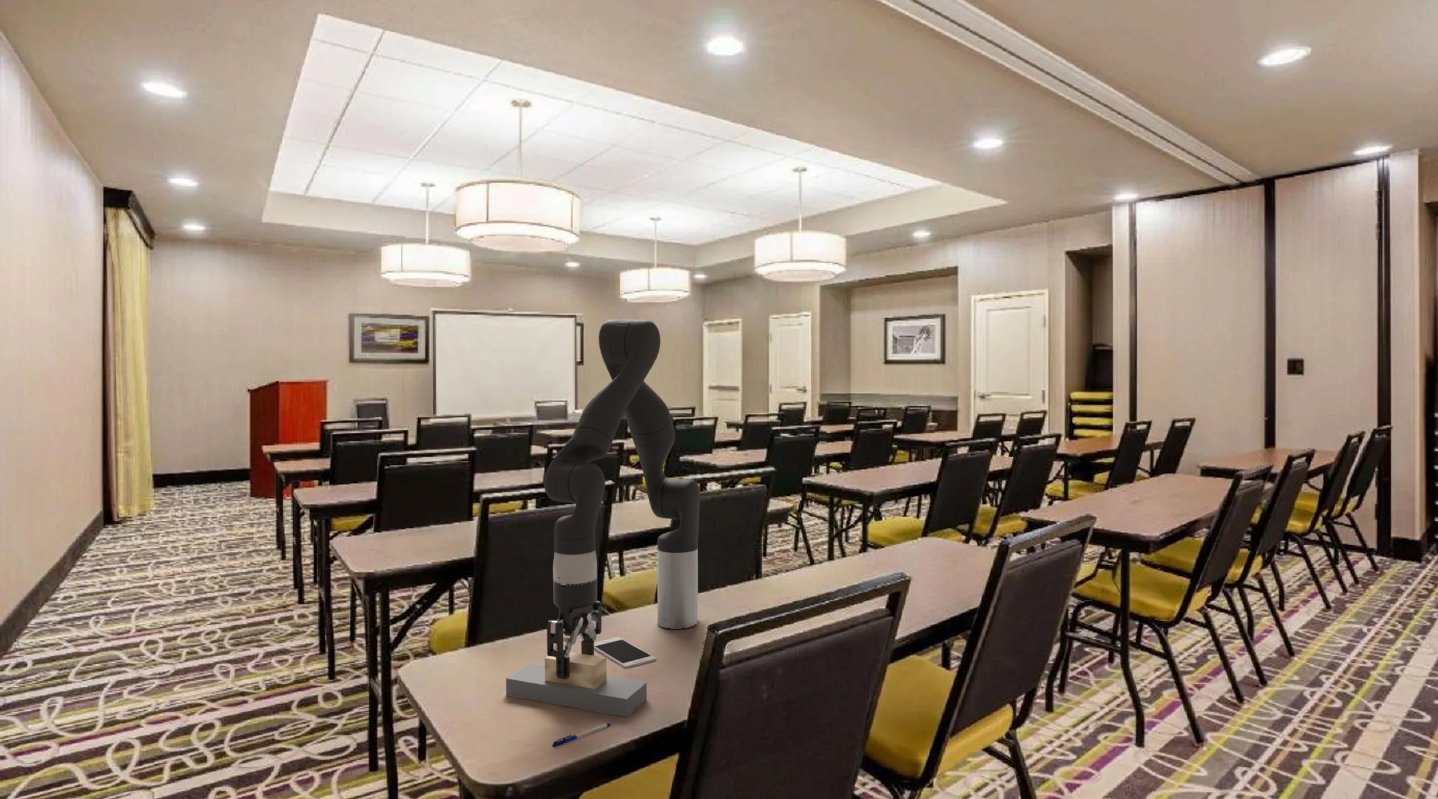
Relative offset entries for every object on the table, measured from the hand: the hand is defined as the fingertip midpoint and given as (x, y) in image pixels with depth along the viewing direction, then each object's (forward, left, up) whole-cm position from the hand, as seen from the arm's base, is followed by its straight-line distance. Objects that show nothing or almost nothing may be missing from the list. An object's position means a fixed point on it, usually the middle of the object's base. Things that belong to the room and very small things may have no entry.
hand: (575, 669), depth 128 cm
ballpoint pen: (+12, +8, -5) cm, 15 cm away
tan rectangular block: (0, 0, -5) cm, 5 cm away
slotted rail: (0, 0, -5) cm, 5 cm away
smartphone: (-22, -3, -6) cm, 23 cm away
